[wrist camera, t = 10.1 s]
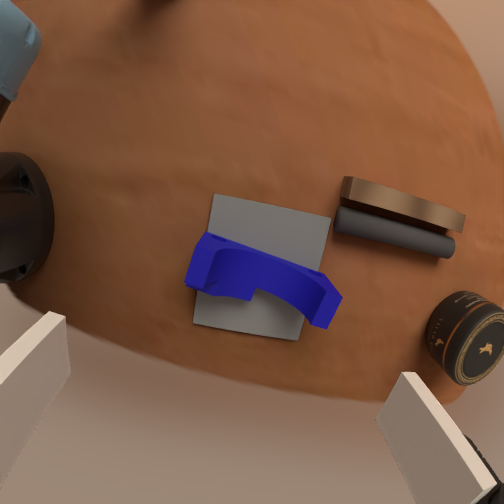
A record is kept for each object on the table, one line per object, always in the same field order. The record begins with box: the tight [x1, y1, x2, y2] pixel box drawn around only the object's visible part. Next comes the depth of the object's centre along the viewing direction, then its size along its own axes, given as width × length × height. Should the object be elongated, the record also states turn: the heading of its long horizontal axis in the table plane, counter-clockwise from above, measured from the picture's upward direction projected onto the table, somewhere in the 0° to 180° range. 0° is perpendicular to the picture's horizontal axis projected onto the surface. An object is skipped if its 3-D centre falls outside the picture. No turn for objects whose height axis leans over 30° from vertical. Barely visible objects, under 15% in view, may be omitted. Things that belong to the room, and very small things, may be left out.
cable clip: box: [184, 231, 343, 329], centre depth 26 cm, size 12×4×6 cm, turn 69°
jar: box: [426, 291, 504, 386], centre depth 28 cm, size 10×10×8 cm
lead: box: [333, 206, 455, 259], centre depth 28 cm, size 14×2×2 cm, turn 78°
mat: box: [193, 194, 331, 341], centre depth 29 cm, size 11×13×1 cm
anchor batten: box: [340, 176, 466, 233], centre depth 27 cm, size 14×2×2 cm, turn 78°
